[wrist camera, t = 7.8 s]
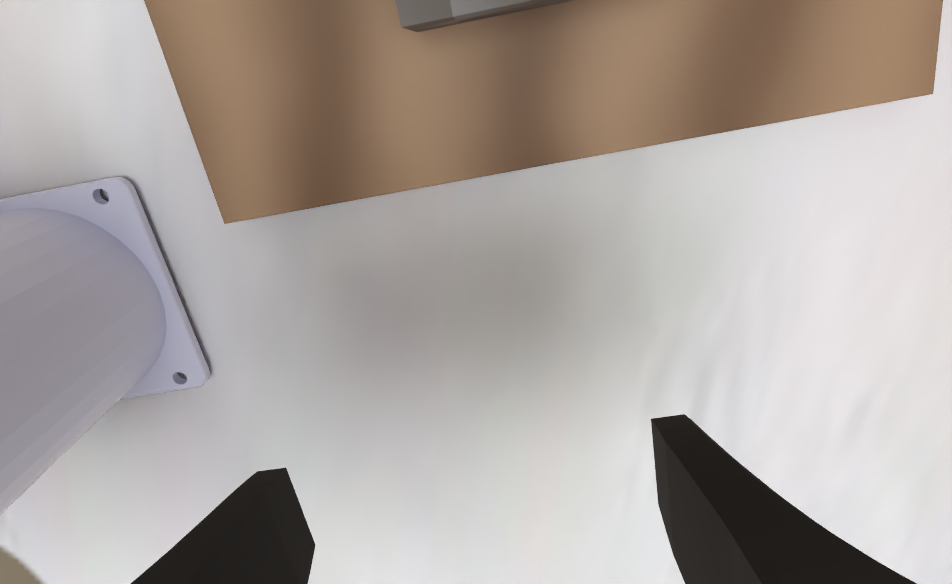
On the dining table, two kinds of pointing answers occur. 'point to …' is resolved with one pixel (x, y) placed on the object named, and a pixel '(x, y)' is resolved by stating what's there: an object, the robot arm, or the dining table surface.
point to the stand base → (507, 82)
